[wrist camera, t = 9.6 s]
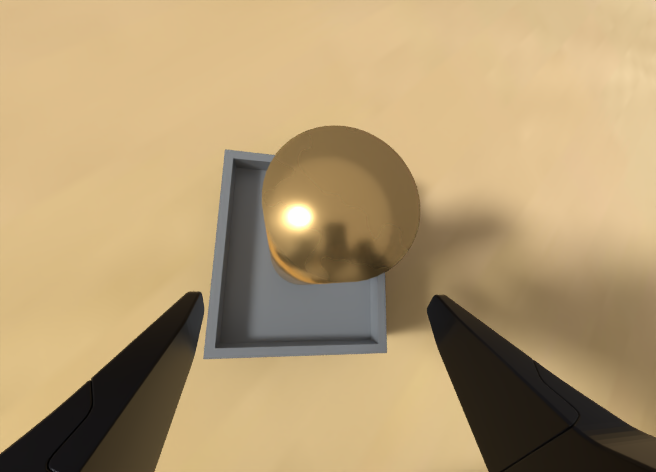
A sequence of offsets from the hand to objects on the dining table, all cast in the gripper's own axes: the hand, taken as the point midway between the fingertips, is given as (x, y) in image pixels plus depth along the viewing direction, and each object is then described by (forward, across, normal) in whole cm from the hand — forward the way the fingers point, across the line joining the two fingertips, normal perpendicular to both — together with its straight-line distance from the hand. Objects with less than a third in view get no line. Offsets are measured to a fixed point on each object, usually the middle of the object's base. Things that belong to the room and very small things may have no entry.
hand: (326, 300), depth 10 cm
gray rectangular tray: (+11, 0, +7) cm, 13 cm away
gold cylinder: (+9, 0, +4) cm, 10 cm away
